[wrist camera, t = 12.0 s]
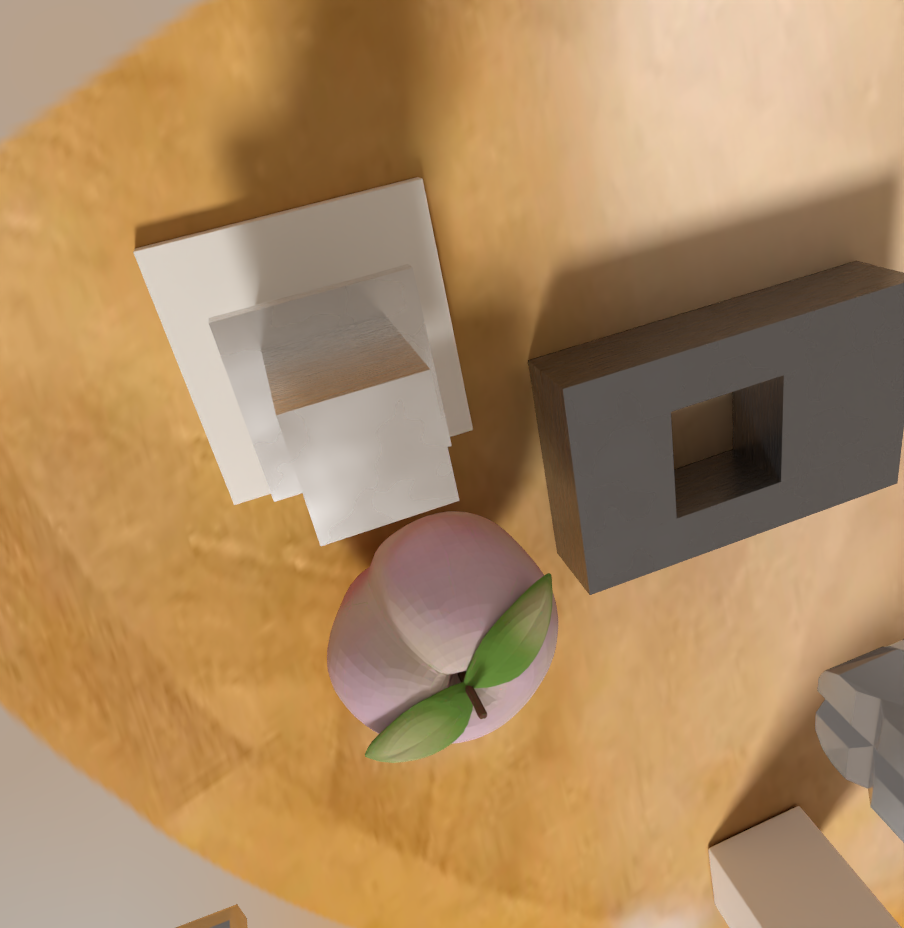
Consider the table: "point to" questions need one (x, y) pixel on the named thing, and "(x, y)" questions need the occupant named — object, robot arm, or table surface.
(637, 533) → the post block
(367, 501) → the peg
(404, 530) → the decorative fruit
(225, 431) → the pad
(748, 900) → the milk carton
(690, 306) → the table surface
